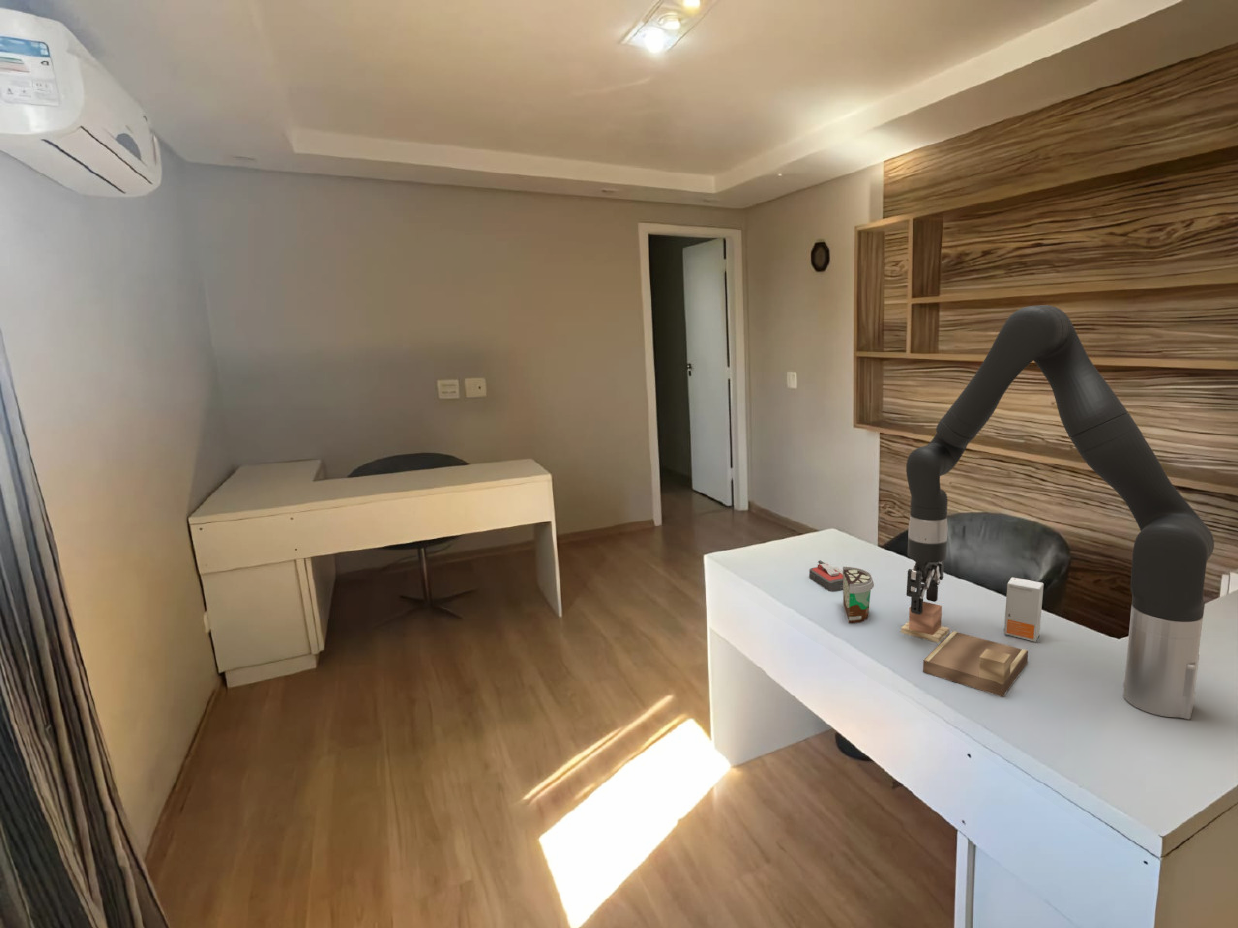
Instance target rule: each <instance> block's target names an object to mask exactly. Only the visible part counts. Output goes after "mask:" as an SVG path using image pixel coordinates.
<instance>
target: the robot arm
mask: <svg viewBox="0 0 1238 928" xmlns="http://www.w3.org/2000/svg"><path fill="white" fill-rule="evenodd" d="M1084 347H1085V346H1083V343H1082V340H1080V338H1079V335H1078V333H1077V331H1076V329H1075V327H1074V325H1073V323H1072V321H1071V319H1070V318H1069V317H1068V315H1067V314H1066V313H1065V312H1064V311H1063V310H1062V309H1060V308H1058V307H1056V306H1053V305H1047V304H1046V305H1045V304H1042V305H1039V304H1038V305H1030V306H1025V307H1022V308H1020V309H1017V310H1016V311H1014V312H1012V313H1011V314H1010V315H1009V317H1008V318H1007V319H1006V321H1005V322H1004V323H1003V325H1002V327H1001V329H1000V331H999V333H998V334H997V336H996V338H995V340H994V342H993V344H992V346H991V347H990V350H989V351H988V353H987V354H986V356H985V358H984V360H983V362H981V363H982V364H981V365H980V366H979V368H978V370H977V371H976V372H975V374H974V375H973V377H972V378H971V380H970V381H969V382H968V384H967V385H966V387H965V388H964V390H963V391H962V392H961V393H960V394H959V396H958V397H957V399H956V400H954V402H953V403H952V405H951V406H950V407H949V409H947V411H946V413H945V414H944V415H943V416H942V418H941V419H940V421H939V422H938V423H937V425H936V429H935V431H936V434H935V435H934V436H933V438H932V439H931V440H930V442H929V443H928V444H927V445H922V446H919V447H917V448H916V449H913V450H912V451H911V452H910V454H909V455H908V458H907V459H906V460H907V461H906V469H905V470H906V471H905V473H906V478H907V483H908V489H909V493H910V496H911V497H910V498H911V499H910V517H909V522H908V536H907V538H908V539H907V556H908V557H909V558H911V559H912V560H913V561H914V562H915V563H914V565H913V569H911V568H909V569H908V570H907V580H906V581H907V582H906V594H905V595H906V597H909V598H910V597H911V600H910V607H911V612H912V613H915V614H918V615H921V614H922V613H923V601H924V595H925V594H926V595H925V596H926V597H925V598H926V600H927V601H929V602H933V603H934V602H935V603H936V602H937V601H938V600H939V599H938V595H939V586H940V584H941V581H943V580H944V562H945V559H946V558H947V547H948V530H949V529H948V503H949V501H948V495H947V492H946V491H944V490H943V489H941V477H942V476H943V475H946V474H947V473H949V472H950V471H952V469H953V468H954V467H955V466H956V465H957V464H958V463H959V461H960V460H961V458H962V456H963V454H964V453H965V451H966V449H967V447H968V445H969V443H970V442H972V441H973V439H974V438H975V437H976V436H977V434H979V433H980V431H981V430H982V429H983V428H984V426H985V425H986V424H987V423H988V421H989V420H990V419H991V417H992V416H993V414H994V413H995V411H996V409H997V408H998V406H999V403H1000V402H1001V400H1002V398H1003V396H1004V395H1005V393H1006V391H1007V390H1008V388H1009V386H1010V385H1011V384H1012V383H1013V381H1014V380H1015V379H1016V378H1017V377H1018V376H1019V375H1020V374H1021V373H1022V372H1023V371H1024V370H1025V369H1026V368H1027V367H1028V366H1029V365H1030V364H1032V362H1034V364H1035V365H1036V366H1037V367H1038V369H1039V370H1040V371H1041V373H1042V374H1043V376H1044V377H1045V379H1046V380H1047V382H1048V383H1049V386H1050V387H1051V389H1052V392H1053V396H1054V399H1055V403H1056V407H1057V411H1058V415H1059V417H1060V420H1061V423H1062V426H1063V428H1064V430H1065V431H1066V434H1067V436H1068V437H1069V439H1070V441H1071V443H1072V444H1073V445H1074V447H1075V449H1076V450H1077V451H1078V453H1079V455H1080V457H1082V459H1083V461H1085V463H1086V464H1087V465H1088V466H1089V468H1090V469H1092V471H1093V472H1095V474H1097V476H1099V477H1100V478H1101V479H1102V480H1103V481H1104V482H1105V483H1107V484H1108V485H1109V486H1110V487H1111V488H1112V489H1113V490H1114V491H1115V493H1117V494H1118V496H1120V498H1121V499H1122V500H1123V501H1124V502H1125V504H1126V506H1127V508H1128V509H1129V511H1130V512H1131V514H1132V516H1133V518H1134V520H1135V522H1136V524H1137V526H1138V527H1139V530H1140V532H1139V533H1138V534H1137V536H1136V538H1135V540H1134V543H1133V547H1132V548H1133V550H1132V558H1131V571H1130V572H1131V573H1130V592H1131V596H1132V599H1131V607H1130V620H1129V628H1128V629H1129V630H1128V640H1127V649H1126V661H1125V670H1124V682H1123V692H1122V695H1123V696H1122V697H1123V698H1124V699H1125V700H1126V702H1128V703H1129V704H1130V705H1131V706H1133V707H1135V708H1137V709H1139V710H1141V711H1143V712H1147V713H1150V714H1152V715H1155V716H1161V717H1165V718H1166V717H1167V718H1168V717H1169V718H1181V719H1185V720H1191V717H1192V712H1193V709H1194V706H1195V704H1194V703H1195V696H1196V695H1195V694H1196V688H1197V680H1198V672H1199V671H1198V670H1199V665H1200V663H1199V661H1200V647H1201V637H1202V630H1203V621H1204V614H1205V607H1206V606H1205V604H1206V603H1205V600H1204V588H1205V579H1206V571H1207V566H1208V560H1209V559H1210V557H1211V555H1212V554H1213V552H1214V549H1215V539H1214V536H1213V532H1211V529H1210V528H1209V526H1208V525H1207V524H1206V523H1205V521H1203V519H1201V516H1199V515H1198V513H1196V511H1195V510H1194V509H1193V508H1192V507H1191V506H1190V504H1189V502H1187V500H1186V499H1185V498H1184V497H1183V496H1182V495H1181V493H1180V492H1179V490H1177V488H1176V487H1175V486H1174V484H1173V483H1172V482H1171V480H1170V479H1169V477H1168V475H1167V474H1166V472H1165V470H1164V468H1163V466H1162V464H1161V463H1160V461H1159V459H1158V457H1157V456H1156V454H1155V453H1154V451H1153V448H1152V447H1151V446H1150V445H1149V443H1148V441H1147V439H1146V438H1145V436H1144V435H1143V433H1142V431H1141V429H1140V428H1139V427H1138V425H1137V424H1136V422H1135V421H1134V419H1133V417H1132V416H1131V414H1130V413H1129V411H1128V409H1127V408H1126V407H1125V406H1124V404H1123V403H1122V401H1120V399H1119V398H1118V396H1117V395H1116V393H1115V392H1114V391H1113V389H1112V388H1111V386H1110V385H1109V384H1108V382H1107V381H1106V380H1105V378H1104V377H1103V376H1102V374H1101V373H1100V372H1099V371H1098V369H1097V368H1096V366H1094V363H1093V362H1092V361H1091V359H1090V357H1089V355H1088V354H1087V351H1086V349H1085V348H1084ZM925 592H926V593H925Z"/></svg>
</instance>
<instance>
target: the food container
mask: <svg viewBox="0 0 1238 928" xmlns="http://www.w3.org/2000/svg"><path fill="white" fill-rule="evenodd" d="M842 571H843V590H842V599H843V600H842V601H843V602H842V603H843V604H842V605H843V607H842V608H843V610H844V613H845V616H846V619H847V622H848V624H857V623H862V622H865V621H866V620H868V618H869V612H870V603H871V591H872V590H873V588H874V586H875V582H874V579H873V576H872V574H871V573H870V572H868V571H866V570H864V569H861V568H858V567H853V566H842Z"/></svg>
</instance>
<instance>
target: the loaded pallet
mask: <svg viewBox="0 0 1238 928" xmlns="http://www.w3.org/2000/svg"><path fill="white" fill-rule="evenodd" d="M908 613H909V614H908V615H909V616H908V617H909V619H908V622H906V623H905V624H904V625H902V626H901V627H900V629H901V630H900V632H901V634H906V635H908V636H912V637H916V638H920V639H922V640H927V641H931V642H934V643H938V644H940V643H941V642H942V641H943V640H944V639H945V638H946V637H947V636H948V635H949V634H950V628H949V627H946V626H942V615H943V614H942V613H943V606H942V605H939V604H936V603H930V602H927V601H924V600H923V613H922V614H921V615H918V614H915V613H912V612H911V606H909V611H908Z"/></svg>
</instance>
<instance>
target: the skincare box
mask: <svg viewBox="0 0 1238 928" xmlns="http://www.w3.org/2000/svg"><path fill="white" fill-rule="evenodd" d="M1044 586H1045V585H1044V583H1043V582H1041V581H1040V582H1038V581H1035V580H1034V581H1033V580H1029V579H1023V578H1017V577H1010V579H1009V580H1008V582H1007V583H1006V595H1005V596H1006V597H1005V599H1006V600H1005V611H1004V625H1003V626H1004V627H1003V634H1004V635H1006V636H1011V637H1015V638H1019V639H1023V640H1027V641H1030V642H1034V643H1035V642H1036V641H1037V639H1038V637H1039V636H1040V633H1041V618H1042V605H1043V596H1044V595H1043V594H1044Z"/></svg>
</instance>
